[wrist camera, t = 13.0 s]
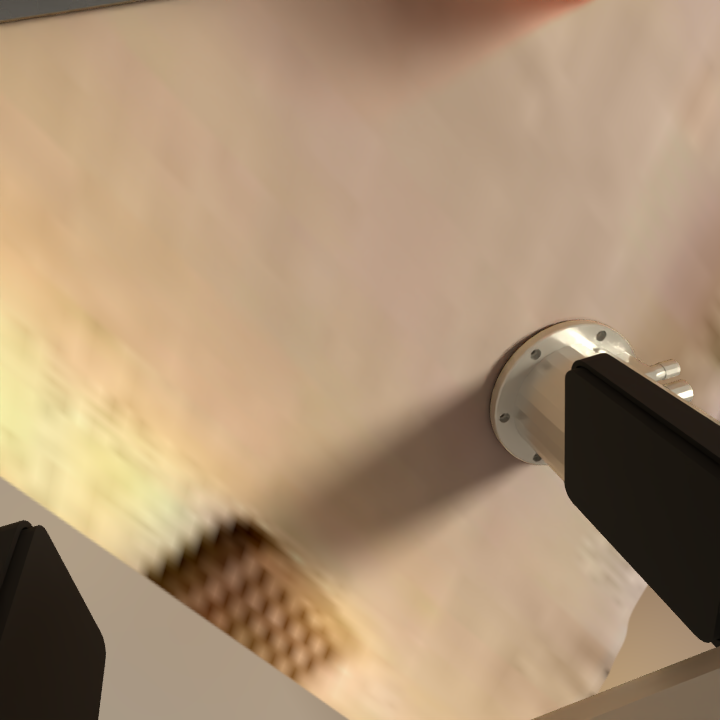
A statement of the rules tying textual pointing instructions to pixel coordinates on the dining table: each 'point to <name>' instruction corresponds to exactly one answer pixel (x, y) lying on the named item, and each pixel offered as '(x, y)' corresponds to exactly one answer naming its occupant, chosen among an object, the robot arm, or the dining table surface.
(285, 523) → the dining table surface
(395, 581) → the dining table surface
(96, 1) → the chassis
